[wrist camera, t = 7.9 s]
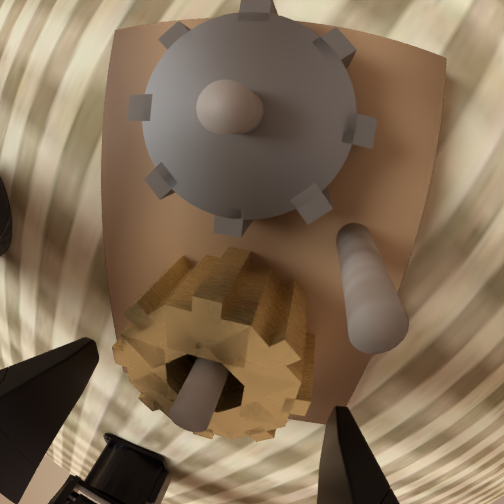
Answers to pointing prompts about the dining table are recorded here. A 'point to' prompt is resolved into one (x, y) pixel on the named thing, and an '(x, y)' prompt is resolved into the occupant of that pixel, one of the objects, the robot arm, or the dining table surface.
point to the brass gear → (223, 342)
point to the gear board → (271, 175)
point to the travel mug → (4, 221)
